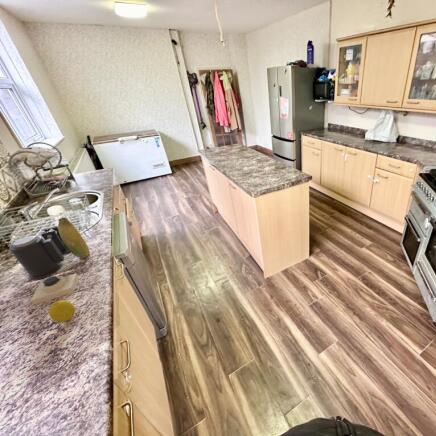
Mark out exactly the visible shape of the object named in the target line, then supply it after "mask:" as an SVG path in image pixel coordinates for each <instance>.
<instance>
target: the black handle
mask: <svg viewBox="0 0 436 436" xmlns="http://www.w3.org/2000/svg"><path fill="white" fill-rule="evenodd" d="M50 229H53V231H49V230H50ZM43 231H44V232H41V233H40V236H41V237H42V239H44V240H47V239H52V240H53V242H54V243H55V245H56V246H57V248H58V249H59V251H60V252H61V254H62V255H63V256H64V255H66V254H70V253H71V252H70V250H69V249H68V248H67V247H66V246H65V244H64V243H63V240H62V238H61V236H60V234H59V231H58V225H57V226H51V227H48V228H44V229H43ZM48 231H49V232H48ZM55 231H57V233H56V232H55ZM71 254H72V253H71Z"/></svg>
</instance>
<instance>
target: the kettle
mask: <svg viewBox="0 0 436 436" xmlns="http://www.w3.org/2000/svg"><path fill="white" fill-rule="evenodd" d="M43 239H44V238H43V237H42V236H37V235H36V236H34V235H29V236H24V237H21V238H19V239H17V240H15V241H13V242H12V244H11V245H10V246H9V248H8V250H9V251H10V252H11V254H12V255H13V257H15V259H16V260H17V261H18V262H19V264H20V265H21V267H22V268H23V269H24V270H25V271H26V272H27V274H28V278H29V279H30V280H34V281H35V282H36V281H37V282H38V281H42V280H46V279H47V278H49V277H52V276H54V274H55V273H57V272H58V271H59V270H61V268H62V267H63V263H62V262H64V260H65V256H64V254H63V255H62V254H61V252H60V251H59V249H58V248H57V246H56V245H55V243H54V242H53V240H52V239H47V240H43Z"/></svg>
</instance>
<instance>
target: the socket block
mask: <svg viewBox="0 0 436 436" xmlns="http://www.w3.org/2000/svg"><path fill="white" fill-rule="evenodd" d="M55 276H56V277H57V278H58V279H59V281H58V282H57V283H56V284H54V285H52V286H49V287H47V286H46V285H45V284H44V283H43V282H42V283H39V284H38V286H37V288H36V290H35V291H34V292H33V295H32V297H31V299H30V302H31V303H32V305H34V306H35V305H38V304H41V303H44V302H47V301H50V300H53V299H57V298H59V297H64V296H66V295H69V294H71V293H75V289H76V287H77V284H78V281H79V279H80V276H79V275H78V273H76V272H75V273H72V274H69V275H66V276H63V275H55Z"/></svg>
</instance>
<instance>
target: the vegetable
mask: <svg viewBox="0 0 436 436" xmlns="http://www.w3.org/2000/svg"><path fill="white" fill-rule="evenodd" d="M57 227H58V231H59V234H60V236H61V238H62V240H63V243H64V244H65V246H66V247H67V248H68V249H69V250H70V252H71V254H72V255H73V256H75V257H76V258H79V259H80V258H81V259H84V258H87V257H89V255H90V248H89V245H88V243H87V242H86V241H85V239H84V237H83V236H82V234H81V233H80V232H79V230H78V229H77V227H76V226H75V225H74V224H73V222H71V221H70V220H69V219H68V218H67V217H63V216H62V217H60V218H59V219H58V224H57Z"/></svg>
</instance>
